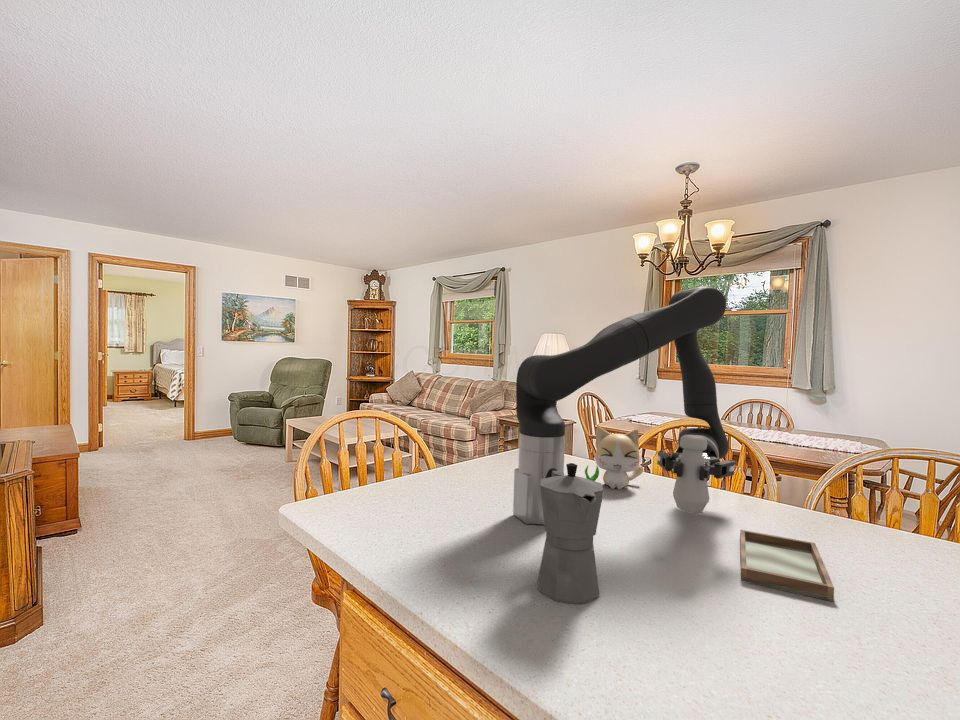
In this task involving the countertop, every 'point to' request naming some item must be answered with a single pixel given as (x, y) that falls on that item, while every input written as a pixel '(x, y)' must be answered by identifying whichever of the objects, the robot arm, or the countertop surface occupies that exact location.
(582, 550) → the coffeepot
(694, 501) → the salt shaker
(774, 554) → the tray
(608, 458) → the kitten
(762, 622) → the countertop surface
